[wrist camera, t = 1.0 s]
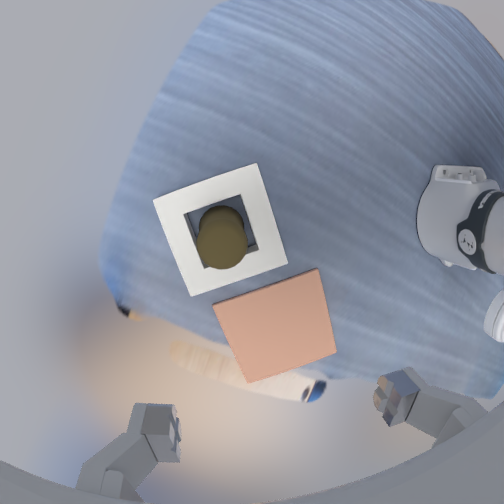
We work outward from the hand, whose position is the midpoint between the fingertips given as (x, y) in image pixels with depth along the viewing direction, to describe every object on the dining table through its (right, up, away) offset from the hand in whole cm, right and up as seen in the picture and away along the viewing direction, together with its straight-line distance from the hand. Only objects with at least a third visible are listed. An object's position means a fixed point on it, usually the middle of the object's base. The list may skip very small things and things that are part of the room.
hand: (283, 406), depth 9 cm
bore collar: (-5, +9, +28) cm, 30 cm away
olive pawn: (-5, +9, +28) cm, 30 cm away
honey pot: (+63, -10, +41) cm, 76 cm away
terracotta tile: (+3, -6, +33) cm, 34 cm away
